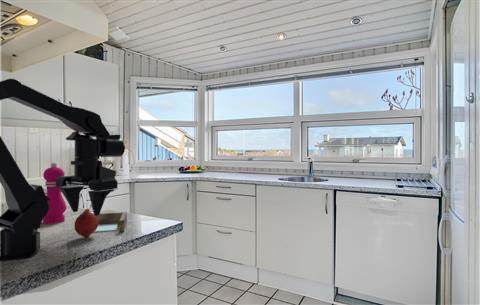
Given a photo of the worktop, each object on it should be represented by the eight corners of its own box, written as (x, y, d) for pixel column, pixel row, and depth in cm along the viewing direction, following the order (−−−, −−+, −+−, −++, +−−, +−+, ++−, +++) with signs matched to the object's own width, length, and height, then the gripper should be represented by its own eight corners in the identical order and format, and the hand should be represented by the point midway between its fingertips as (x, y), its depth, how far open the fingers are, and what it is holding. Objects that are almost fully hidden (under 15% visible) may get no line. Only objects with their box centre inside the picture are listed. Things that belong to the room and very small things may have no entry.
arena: (82, 235, 81) (82, 222, 81) (90, 224, 93) (90, 213, 93) (123, 231, 84) (124, 220, 84) (126, 222, 96) (126, 211, 96)
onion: (87, 241, 75) (87, 211, 75) (69, 240, 76) (69, 210, 76) (102, 235, 81) (102, 207, 81) (85, 233, 82) (85, 206, 82)
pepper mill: (68, 218, 101) (68, 162, 101) (63, 223, 94) (64, 162, 94) (44, 219, 98) (44, 162, 98) (38, 225, 92) (38, 163, 91)
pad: (87, 232, 83) (87, 231, 83) (92, 226, 91) (92, 225, 91) (115, 230, 86) (115, 229, 86) (118, 224, 93) (118, 223, 93)
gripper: (133, 157, 82) (133, 211, 82) (91, 156, 90) (90, 205, 90) (98, 158, 72) (98, 219, 72) (54, 156, 80) (54, 212, 80)
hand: (85, 213), depth 79 cm, fingers open, 9 cm apart
